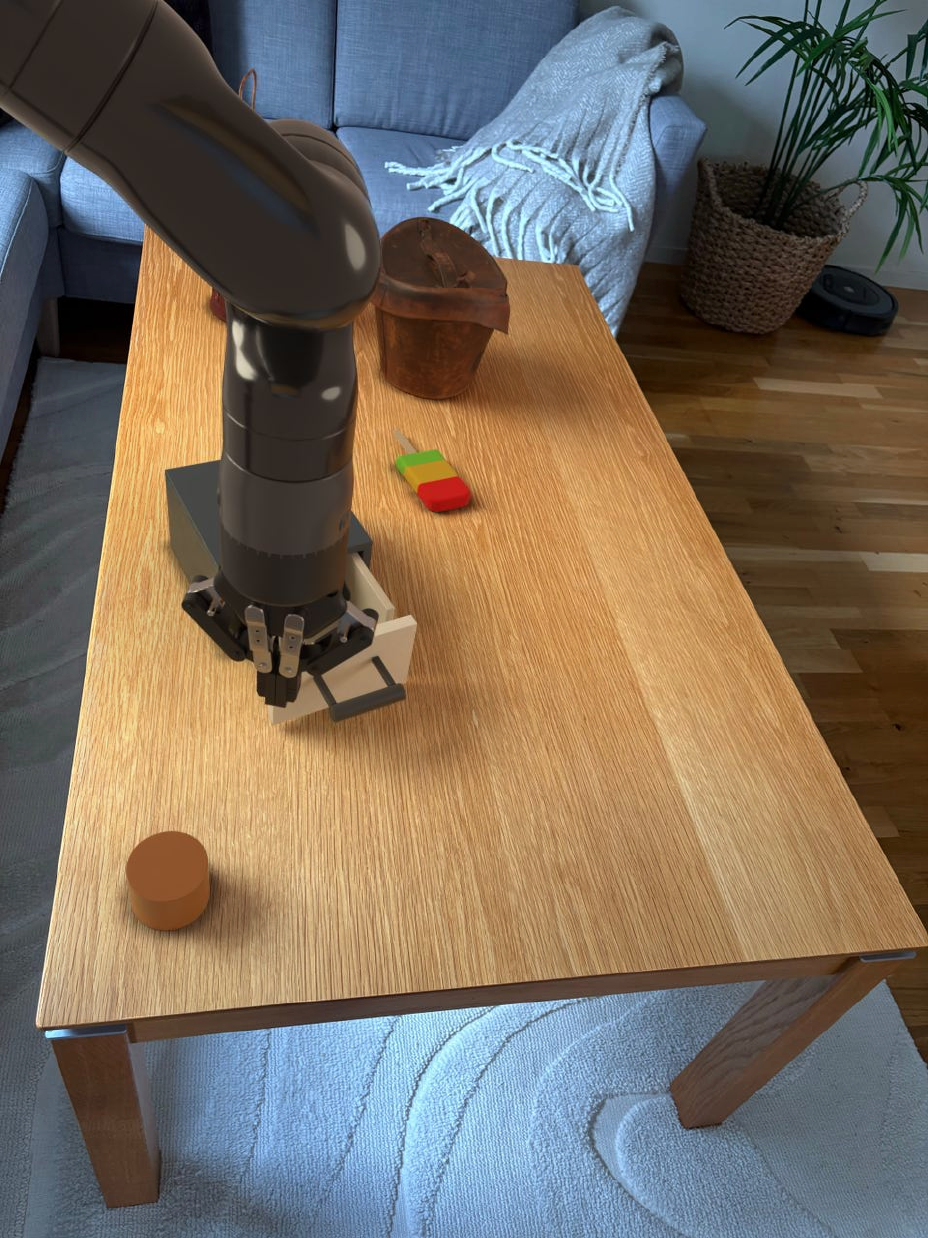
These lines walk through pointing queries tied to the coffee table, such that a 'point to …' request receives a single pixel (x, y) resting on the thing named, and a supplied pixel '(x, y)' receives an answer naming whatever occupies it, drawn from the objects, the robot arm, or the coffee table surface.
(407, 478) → the popsicle
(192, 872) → the orange brown cylinder
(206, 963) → the coffee table surface
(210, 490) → the cabinet
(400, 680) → the drawer
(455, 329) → the case
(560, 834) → the coffee table surface
